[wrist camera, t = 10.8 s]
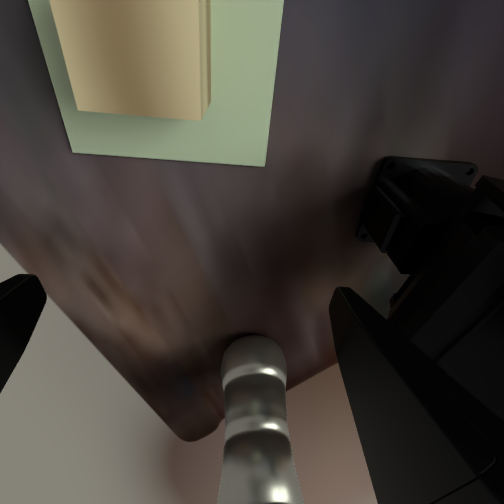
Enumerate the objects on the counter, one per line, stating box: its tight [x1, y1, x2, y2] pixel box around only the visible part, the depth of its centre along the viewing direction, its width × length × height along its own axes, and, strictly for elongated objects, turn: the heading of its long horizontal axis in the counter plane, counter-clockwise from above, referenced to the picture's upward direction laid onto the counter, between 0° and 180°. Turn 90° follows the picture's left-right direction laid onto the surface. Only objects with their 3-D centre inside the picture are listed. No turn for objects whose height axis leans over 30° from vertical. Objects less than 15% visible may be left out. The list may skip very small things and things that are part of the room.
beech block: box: [49, 0, 211, 121], centre depth 12 cm, size 5×5×5 cm
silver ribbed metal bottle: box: [217, 335, 304, 504], centre depth 22 cm, size 6×7×20 cm
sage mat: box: [28, 0, 284, 167], centre depth 14 cm, size 12×12×1 cm
